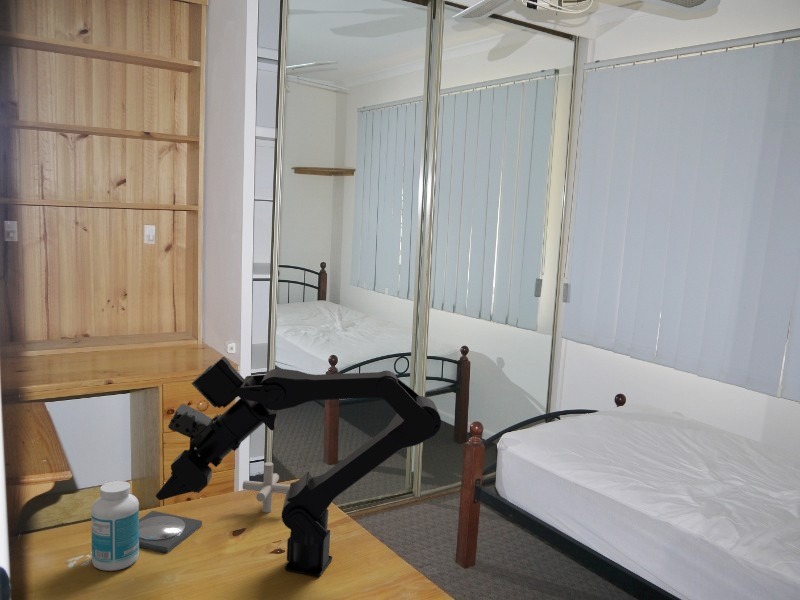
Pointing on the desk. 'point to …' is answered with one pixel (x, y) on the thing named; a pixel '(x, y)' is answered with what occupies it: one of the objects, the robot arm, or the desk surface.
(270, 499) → the pipe connector
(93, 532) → the pill bottle
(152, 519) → the flange plate
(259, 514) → the desk surface
